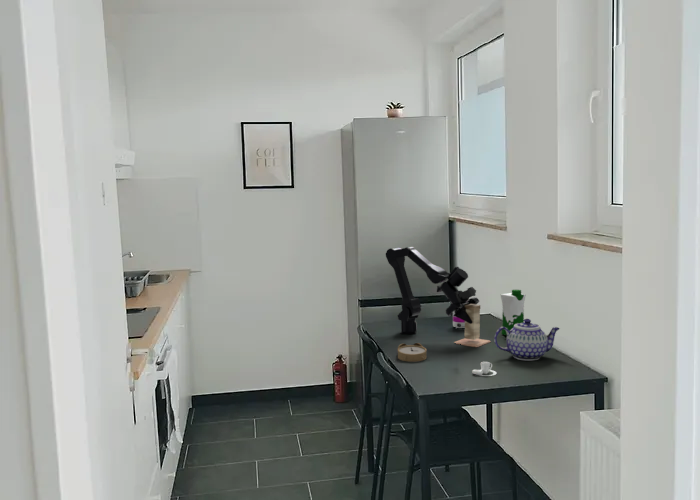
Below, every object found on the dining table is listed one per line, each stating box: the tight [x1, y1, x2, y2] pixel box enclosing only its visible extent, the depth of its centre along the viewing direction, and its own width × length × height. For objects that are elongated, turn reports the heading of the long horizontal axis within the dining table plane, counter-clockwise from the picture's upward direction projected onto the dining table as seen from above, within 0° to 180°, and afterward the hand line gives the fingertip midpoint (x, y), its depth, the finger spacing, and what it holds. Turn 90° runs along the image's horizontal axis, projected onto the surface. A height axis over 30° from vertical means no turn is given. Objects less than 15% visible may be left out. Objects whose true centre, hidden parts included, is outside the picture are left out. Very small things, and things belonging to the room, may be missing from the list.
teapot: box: [493, 318, 561, 361], centre depth 254 cm, size 25×15×15 cm, turn 88°
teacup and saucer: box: [471, 361, 498, 377], centre depth 235 cm, size 9×8×4 cm
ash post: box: [464, 304, 481, 340], centre depth 278 cm, size 5×5×14 cm
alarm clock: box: [397, 342, 427, 363], centre depth 259 cm, size 11×5×15 cm
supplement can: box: [452, 297, 471, 329], centre depth 308 cm, size 8×8×15 cm
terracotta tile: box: [453, 337, 491, 348], centre depth 279 cm, size 11×11×1 cm
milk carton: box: [500, 289, 526, 336], centre depth 291 cm, size 9×9×20 cm
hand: (474, 322), depth 277 cm, fingers closed on ash post, 4 cm apart
